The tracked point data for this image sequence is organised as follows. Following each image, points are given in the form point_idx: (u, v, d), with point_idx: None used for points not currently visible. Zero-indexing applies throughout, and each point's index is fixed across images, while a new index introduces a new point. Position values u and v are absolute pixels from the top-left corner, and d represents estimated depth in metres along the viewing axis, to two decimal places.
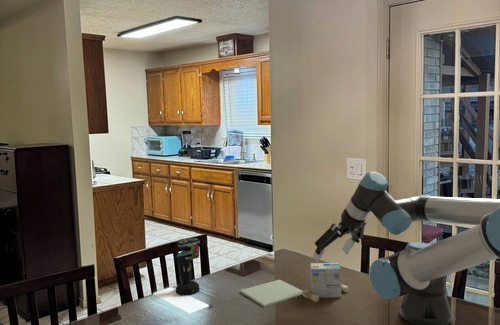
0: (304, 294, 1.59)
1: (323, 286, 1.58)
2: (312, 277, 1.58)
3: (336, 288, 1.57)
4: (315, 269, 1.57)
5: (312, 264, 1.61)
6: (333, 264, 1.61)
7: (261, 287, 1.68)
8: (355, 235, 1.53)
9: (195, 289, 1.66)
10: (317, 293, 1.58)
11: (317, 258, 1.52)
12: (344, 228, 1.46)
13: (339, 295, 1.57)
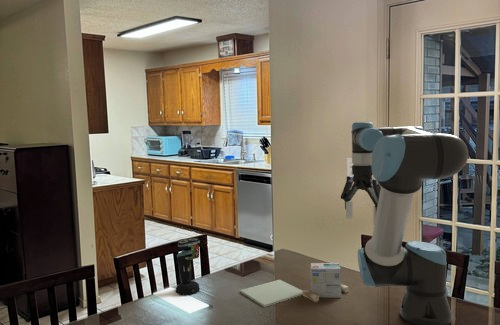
0: (304, 294, 1.59)
1: (323, 286, 1.58)
2: (312, 277, 1.58)
3: (336, 288, 1.57)
4: (315, 269, 1.57)
5: (312, 264, 1.61)
6: (333, 264, 1.61)
7: (261, 287, 1.68)
8: (371, 195, 1.60)
9: (195, 289, 1.66)
10: (317, 293, 1.58)
11: None
12: (354, 179, 1.66)
13: (339, 295, 1.57)
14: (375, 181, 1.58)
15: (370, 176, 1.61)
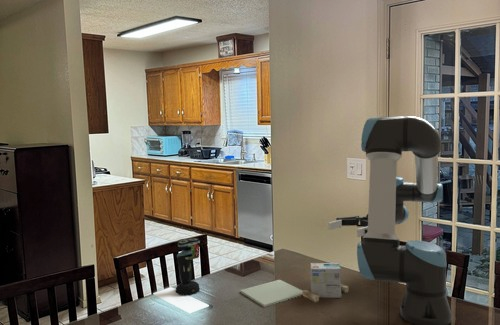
0: (304, 294, 1.59)
1: (323, 286, 1.58)
2: (312, 277, 1.58)
3: (336, 288, 1.57)
4: (315, 269, 1.57)
5: (312, 264, 1.61)
6: (333, 264, 1.61)
7: (261, 287, 1.68)
8: None
9: (195, 289, 1.66)
10: (317, 293, 1.58)
11: None
12: None
13: (339, 295, 1.57)
14: None
15: None
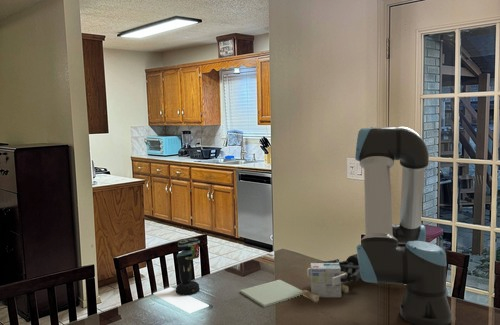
0: (304, 294, 1.59)
1: (323, 286, 1.58)
2: (312, 277, 1.58)
3: (336, 288, 1.57)
4: (315, 269, 1.57)
5: (312, 264, 1.61)
6: (333, 264, 1.61)
7: (261, 287, 1.68)
8: (350, 270, 1.61)
9: (195, 289, 1.66)
10: (317, 293, 1.58)
11: None
12: None
13: (339, 295, 1.57)
14: None
15: None
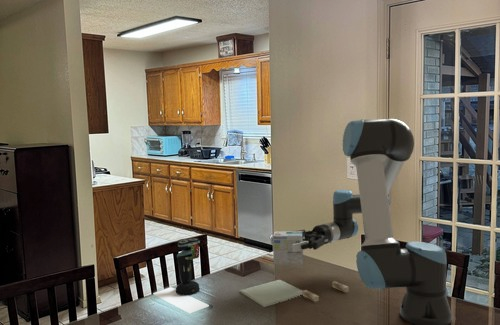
0: (304, 294, 1.59)
1: (285, 253, 1.60)
2: (274, 244, 1.60)
3: (297, 255, 1.60)
4: (277, 236, 1.60)
5: (275, 232, 1.64)
6: (296, 232, 1.63)
7: (261, 287, 1.68)
8: (312, 238, 1.63)
9: (195, 289, 1.66)
10: (279, 260, 1.61)
11: None
12: None
13: (300, 262, 1.60)
14: (326, 238, 1.65)
15: None
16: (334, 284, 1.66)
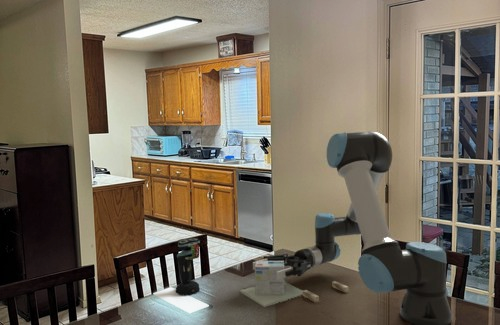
0: (304, 294, 1.59)
1: (267, 284, 1.59)
2: (256, 275, 1.59)
3: (279, 286, 1.59)
4: (259, 267, 1.59)
5: (257, 262, 1.63)
6: (278, 262, 1.63)
7: None
8: (295, 264, 1.63)
9: (195, 289, 1.66)
10: (261, 290, 1.60)
11: None
12: None
13: (282, 292, 1.59)
14: (309, 263, 1.64)
15: None
16: (334, 284, 1.66)
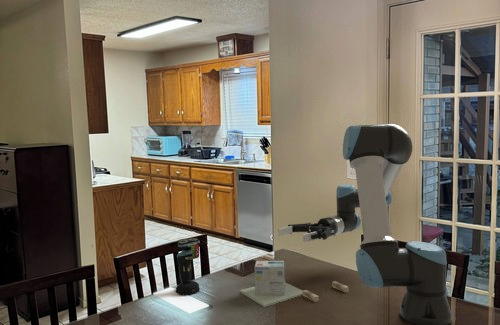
0: (304, 294, 1.59)
1: (267, 284, 1.59)
2: (256, 275, 1.59)
3: (279, 286, 1.59)
4: (259, 267, 1.59)
5: (257, 262, 1.63)
6: (278, 262, 1.63)
7: None
8: (320, 229, 1.70)
9: (195, 289, 1.66)
10: (261, 290, 1.60)
11: None
12: None
13: (282, 292, 1.59)
14: (333, 229, 1.72)
15: None
16: (334, 284, 1.66)
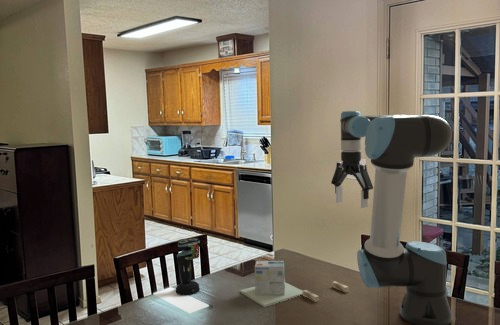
0: (304, 294, 1.59)
1: (267, 284, 1.59)
2: (256, 275, 1.59)
3: (279, 286, 1.59)
4: (259, 267, 1.59)
5: (257, 262, 1.63)
6: (278, 262, 1.63)
7: None
8: (358, 180, 1.70)
9: (195, 289, 1.66)
10: (261, 290, 1.60)
11: None
12: (343, 165, 1.76)
13: (282, 292, 1.59)
14: (362, 166, 1.68)
15: (358, 162, 1.71)
16: (334, 284, 1.66)
